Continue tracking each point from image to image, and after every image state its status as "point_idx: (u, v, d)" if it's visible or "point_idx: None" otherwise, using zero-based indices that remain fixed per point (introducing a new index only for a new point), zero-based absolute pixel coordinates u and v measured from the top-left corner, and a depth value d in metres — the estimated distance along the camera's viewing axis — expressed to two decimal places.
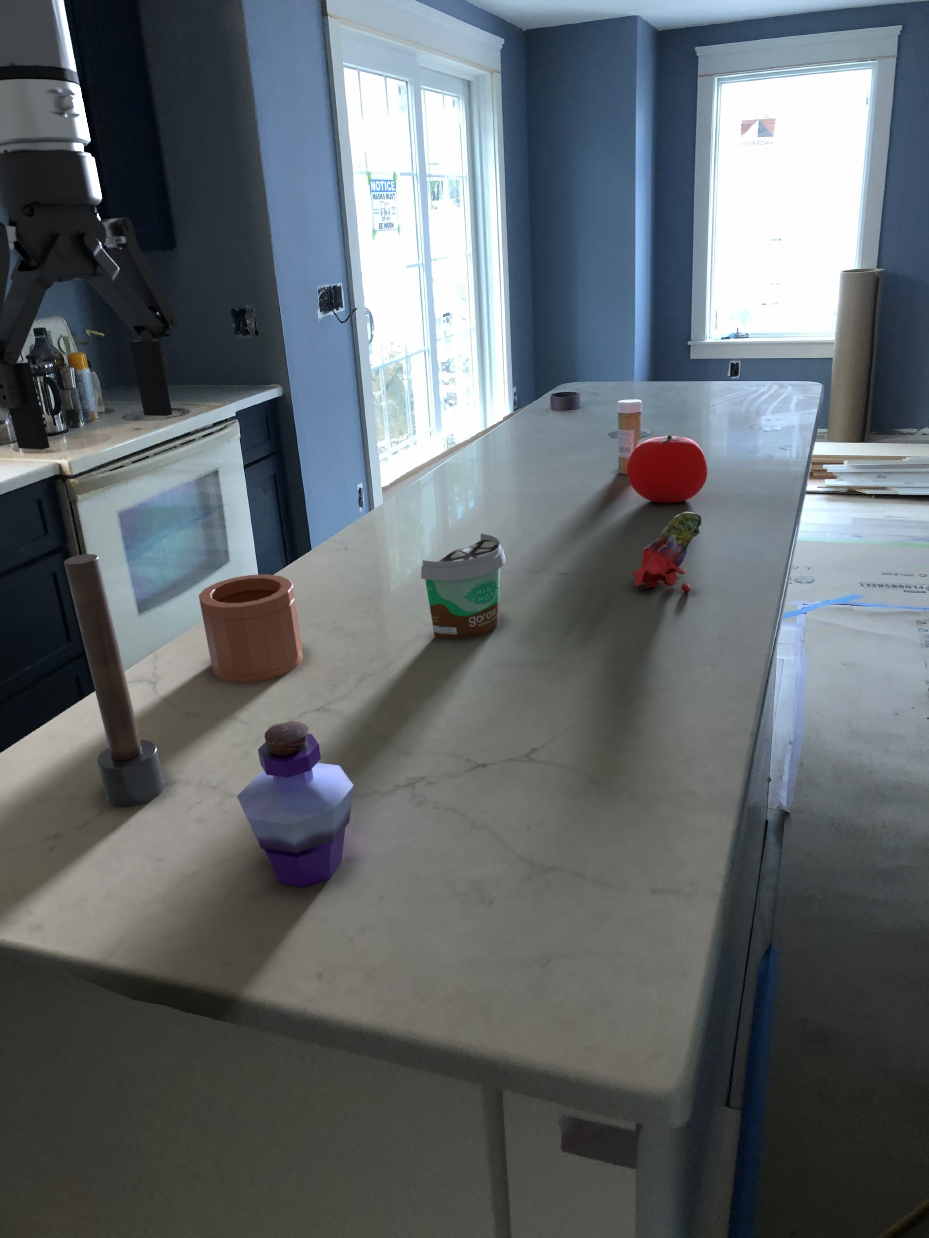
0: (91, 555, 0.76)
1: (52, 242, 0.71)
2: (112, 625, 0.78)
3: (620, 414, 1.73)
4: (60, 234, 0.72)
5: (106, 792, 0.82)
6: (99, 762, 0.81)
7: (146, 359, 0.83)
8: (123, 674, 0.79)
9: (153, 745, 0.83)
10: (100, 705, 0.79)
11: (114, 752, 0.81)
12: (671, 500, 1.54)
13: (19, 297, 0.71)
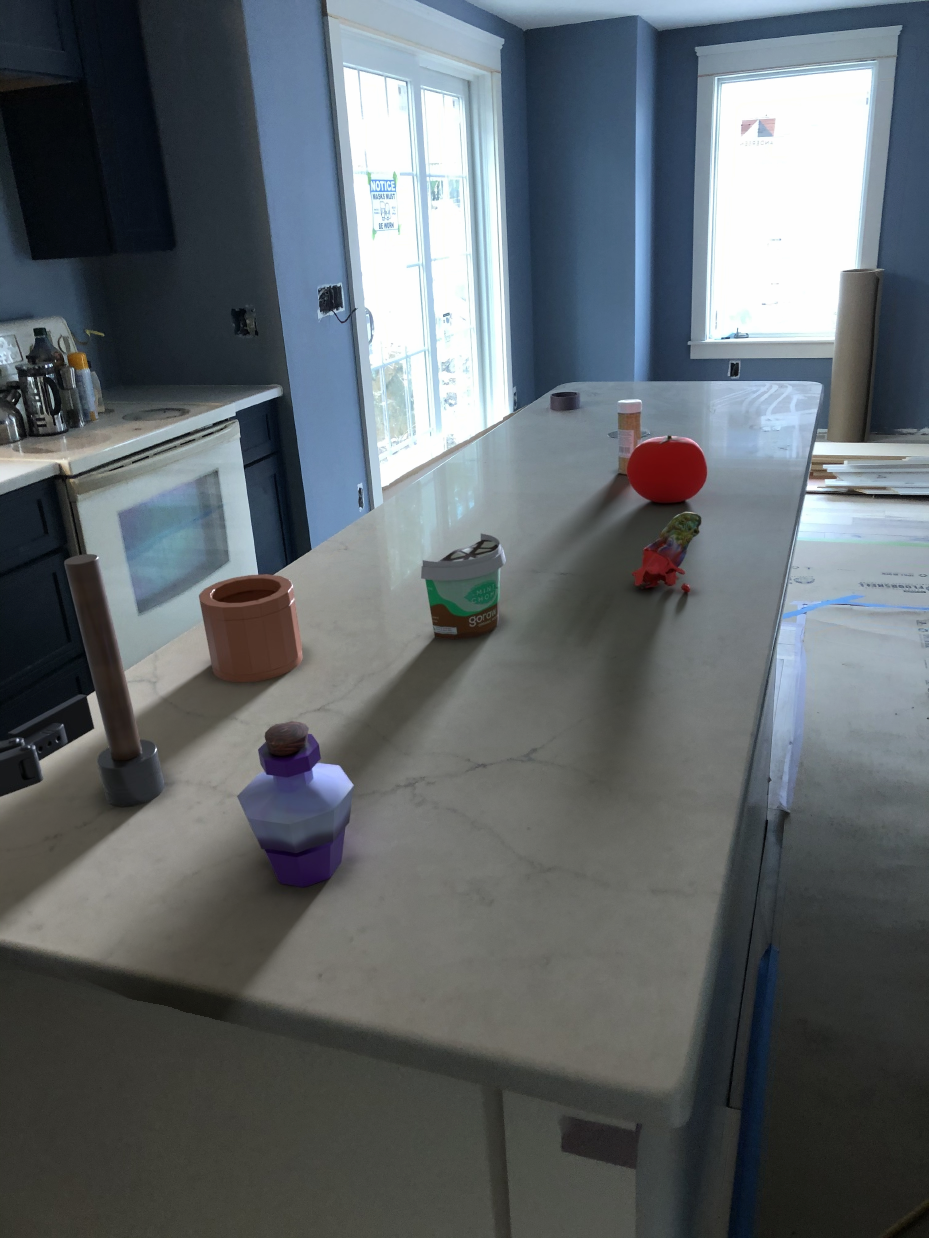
0: (91, 555, 0.76)
1: None
2: (112, 625, 0.78)
3: (620, 414, 1.73)
4: None
5: (106, 792, 0.82)
6: (99, 762, 0.81)
7: None
8: (123, 674, 0.79)
9: (153, 745, 0.83)
10: (100, 705, 0.79)
11: (114, 752, 0.81)
12: (671, 500, 1.54)
13: None
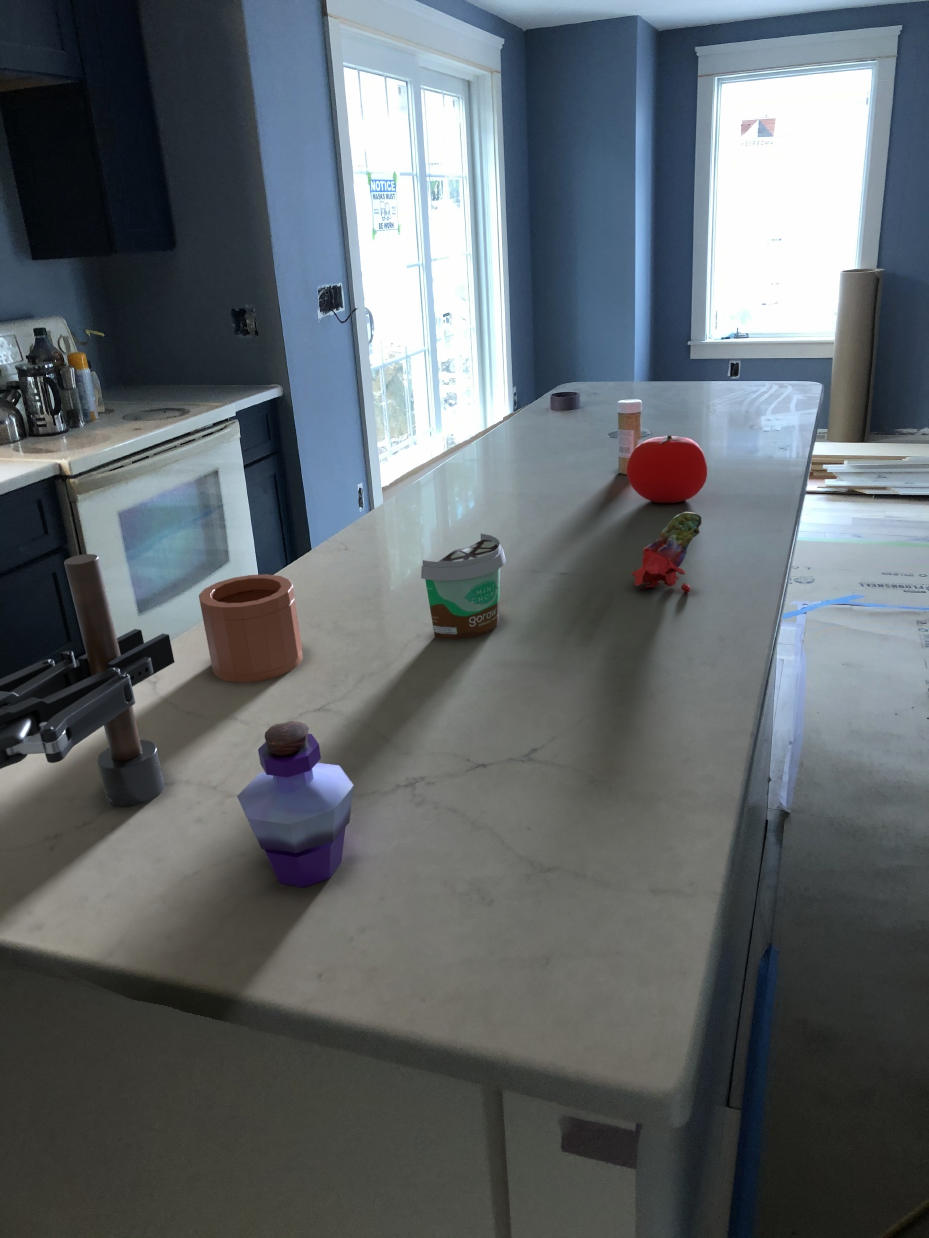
0: (91, 555, 0.76)
1: None
2: (112, 625, 0.78)
3: (620, 414, 1.73)
4: None
5: (106, 792, 0.82)
6: (99, 762, 0.81)
7: None
8: None
9: (153, 745, 0.83)
10: None
11: (114, 752, 0.81)
12: (671, 500, 1.54)
13: None
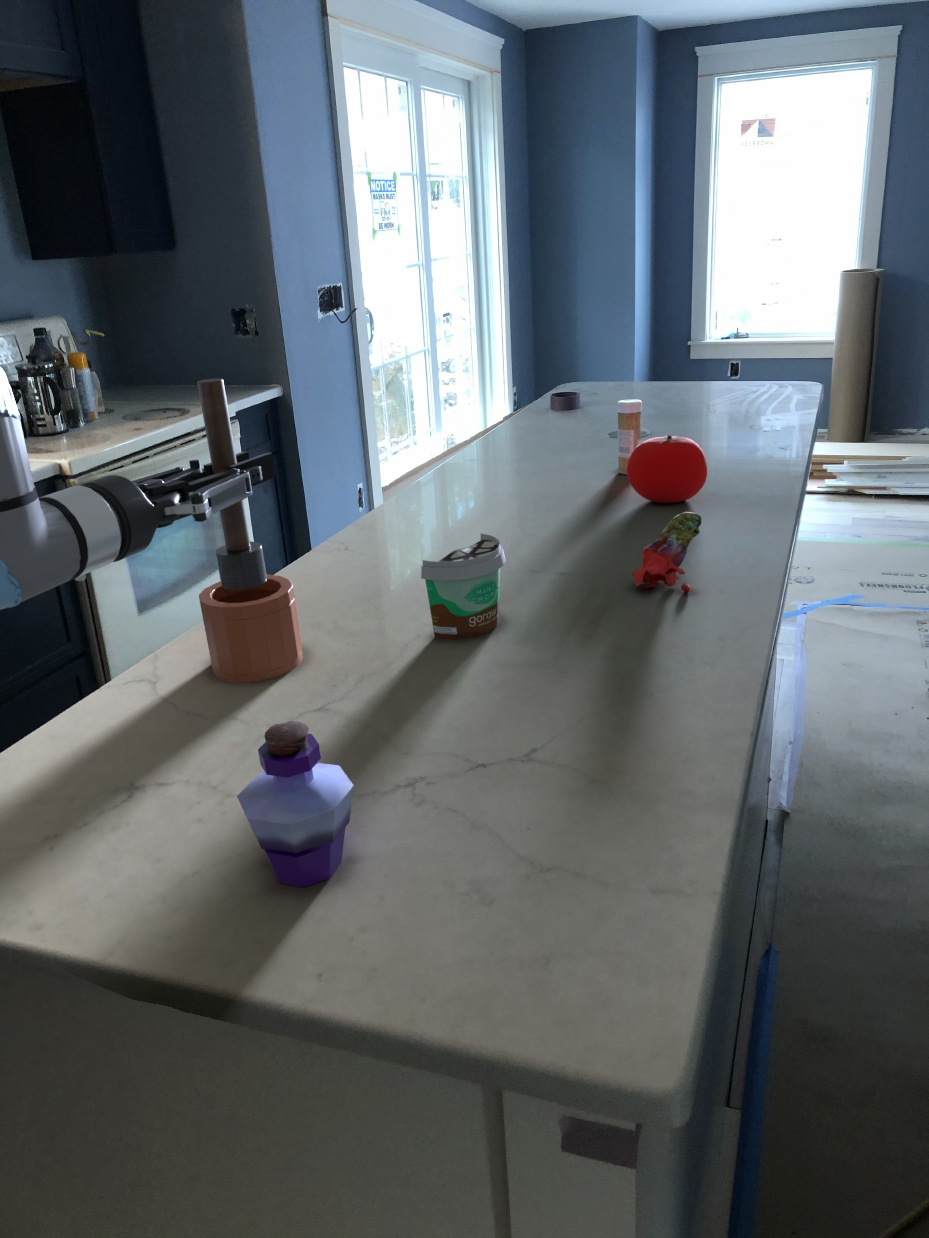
0: (217, 378, 0.96)
1: None
2: (232, 437, 0.98)
3: (620, 414, 1.73)
4: None
5: (222, 578, 1.02)
6: (218, 553, 1.01)
7: None
8: None
9: (259, 543, 1.03)
10: None
11: (230, 544, 1.01)
12: (671, 500, 1.54)
13: None
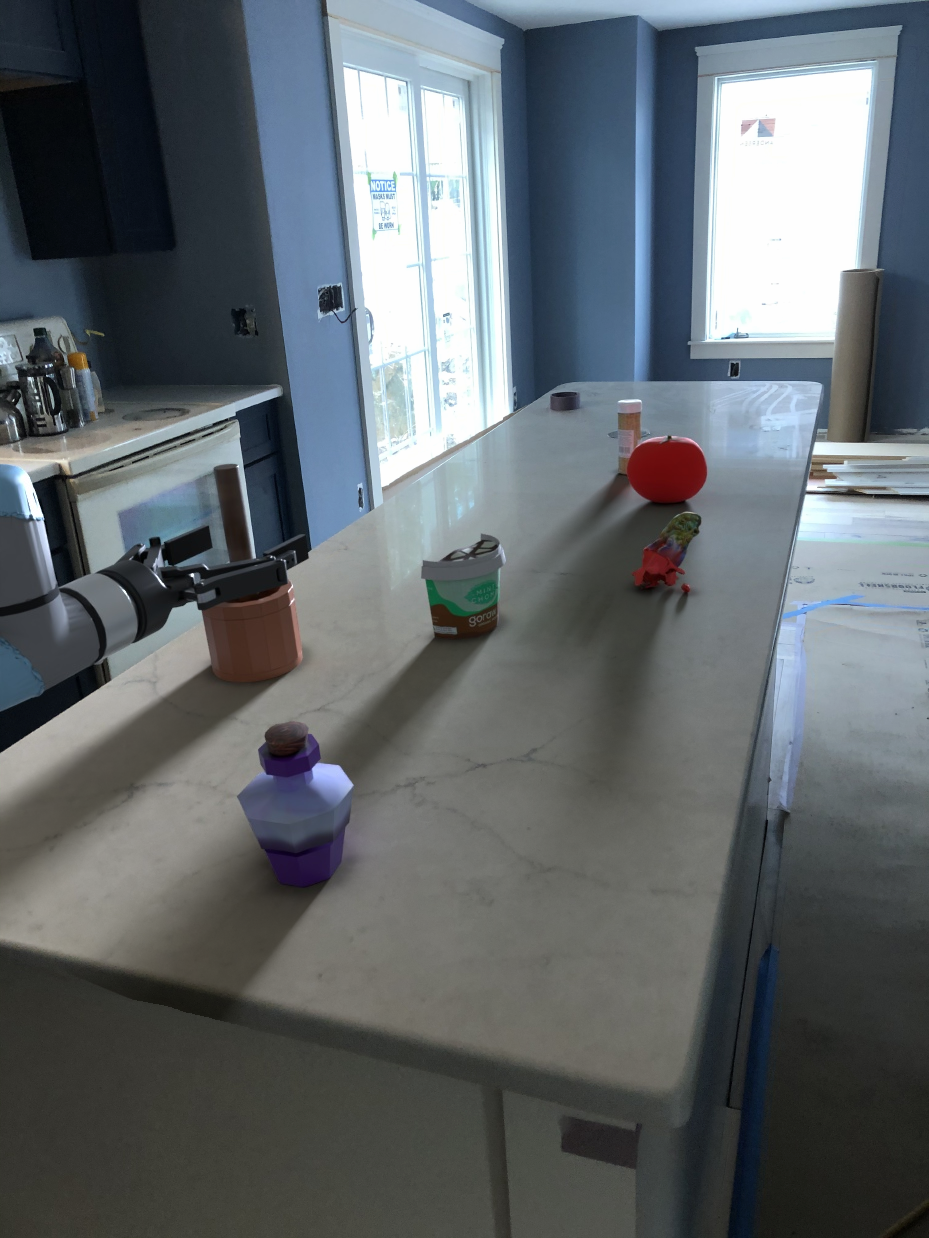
0: (232, 464, 1.00)
1: None
2: (246, 519, 1.01)
3: (620, 414, 1.73)
4: None
5: None
6: None
7: None
8: (252, 558, 1.03)
9: None
10: None
11: None
12: (671, 500, 1.54)
13: None
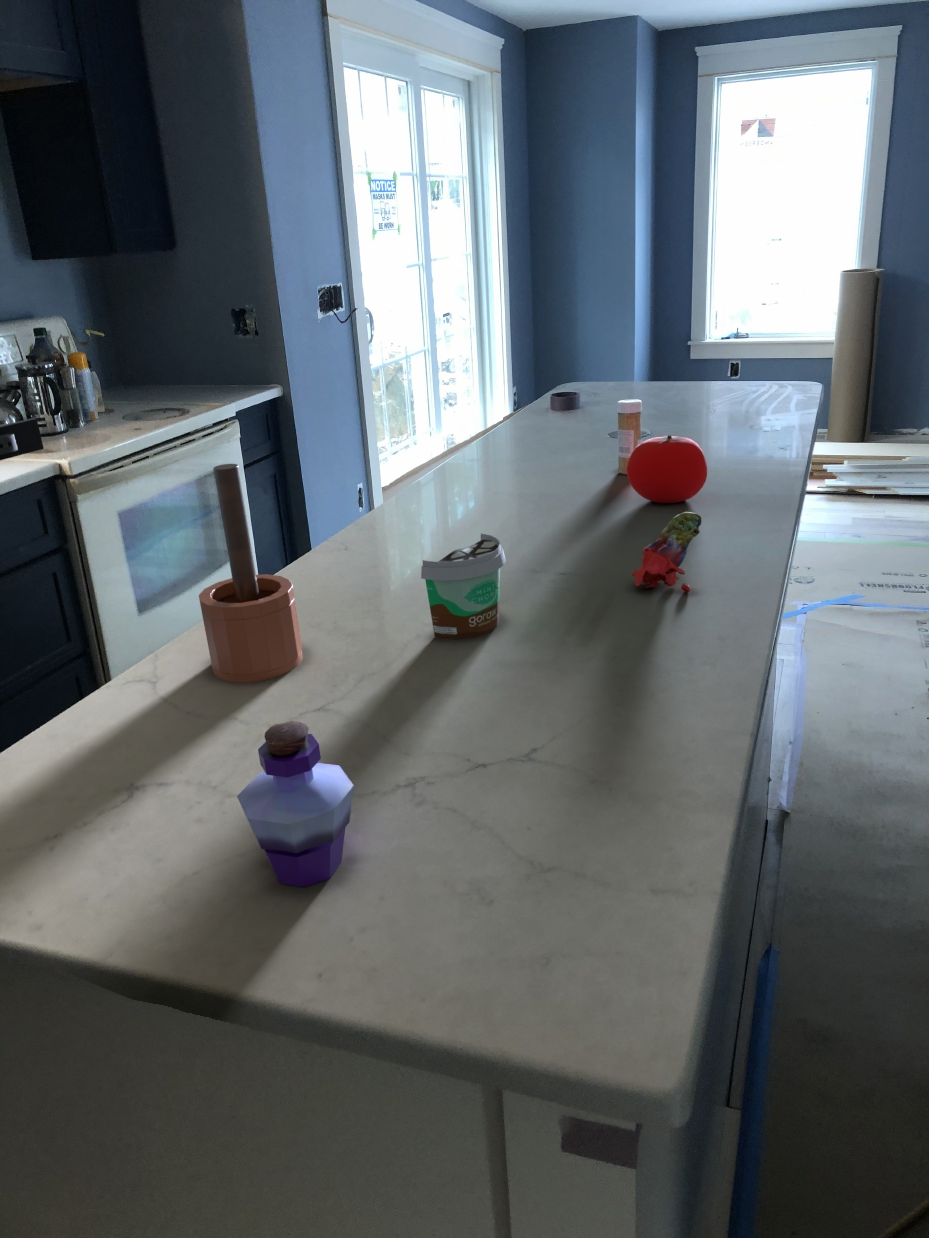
0: (232, 464, 1.00)
1: None
2: (246, 519, 1.01)
3: (620, 414, 1.73)
4: None
5: None
6: None
7: None
8: (252, 558, 1.03)
9: None
10: (235, 582, 1.03)
11: None
12: (671, 500, 1.54)
13: None
